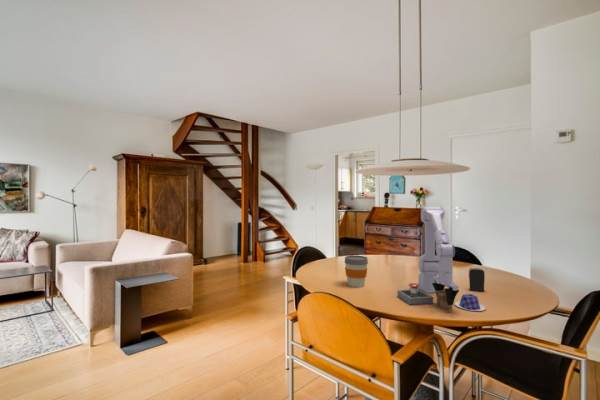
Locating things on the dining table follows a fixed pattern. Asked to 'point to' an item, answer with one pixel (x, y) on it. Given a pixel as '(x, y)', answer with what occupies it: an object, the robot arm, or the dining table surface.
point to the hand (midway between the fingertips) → (444, 301)
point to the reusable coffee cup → (356, 270)
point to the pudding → (470, 303)
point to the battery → (476, 279)
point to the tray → (419, 300)
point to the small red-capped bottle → (413, 290)
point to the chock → (442, 300)
